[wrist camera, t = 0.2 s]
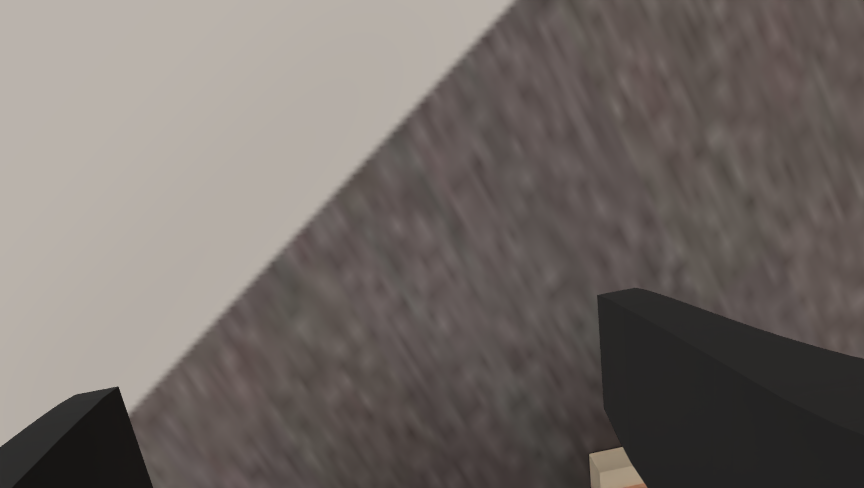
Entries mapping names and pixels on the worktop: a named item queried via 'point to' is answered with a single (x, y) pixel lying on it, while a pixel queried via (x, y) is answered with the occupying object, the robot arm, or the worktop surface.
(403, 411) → the worktop surface
